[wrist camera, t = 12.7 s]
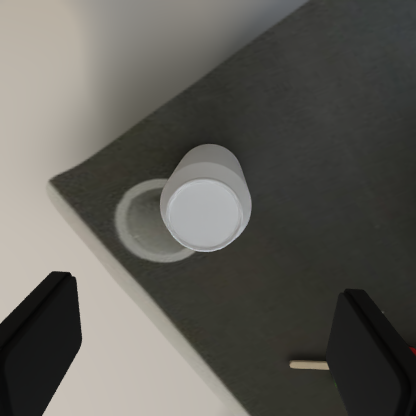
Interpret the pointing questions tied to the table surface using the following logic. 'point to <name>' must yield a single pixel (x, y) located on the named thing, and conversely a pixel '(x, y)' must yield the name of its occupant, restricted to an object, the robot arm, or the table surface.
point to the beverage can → (206, 199)
